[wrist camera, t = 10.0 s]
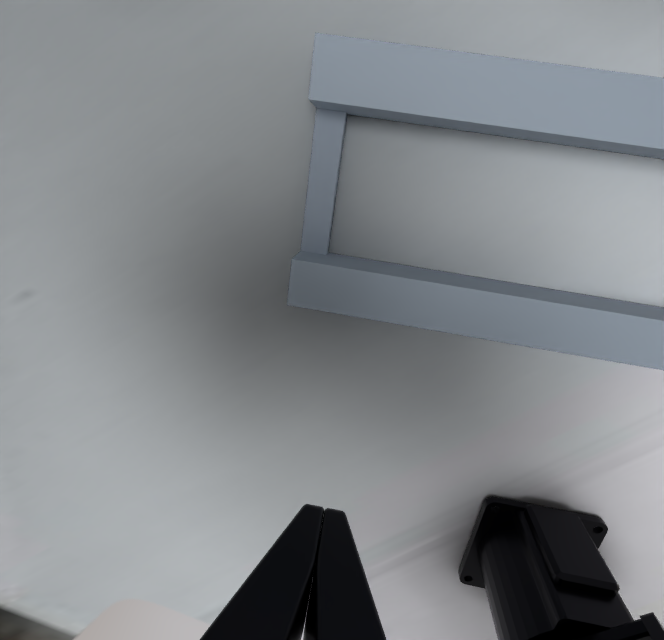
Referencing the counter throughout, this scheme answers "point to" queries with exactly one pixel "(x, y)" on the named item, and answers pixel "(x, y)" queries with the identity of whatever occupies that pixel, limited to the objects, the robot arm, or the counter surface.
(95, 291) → the counter surface
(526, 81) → the grey piece
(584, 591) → the robot arm
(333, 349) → the counter surface
